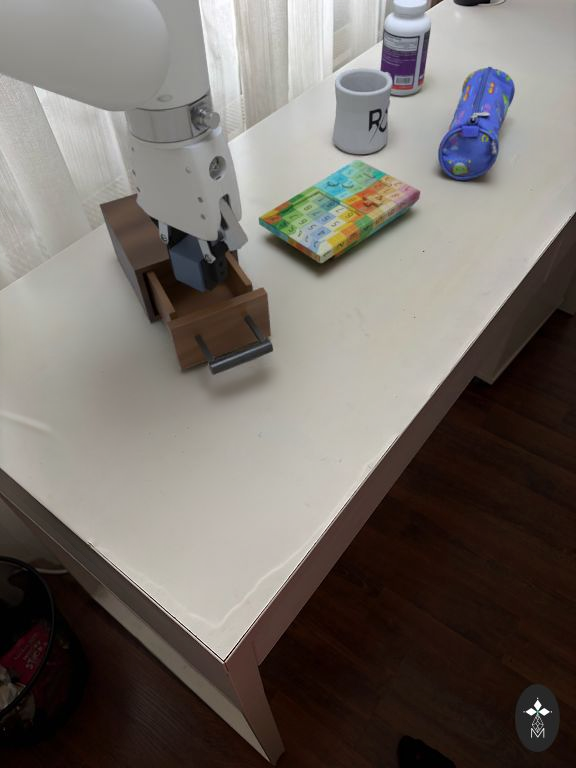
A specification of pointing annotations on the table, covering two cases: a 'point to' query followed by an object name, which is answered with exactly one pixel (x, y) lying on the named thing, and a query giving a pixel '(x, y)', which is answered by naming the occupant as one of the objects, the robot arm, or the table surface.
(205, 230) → the robot arm
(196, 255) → the block
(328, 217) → the puzzle game
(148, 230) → the cabinet
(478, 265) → the table surface
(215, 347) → the drawer
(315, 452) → the table surface
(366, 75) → the mug
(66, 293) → the table surface
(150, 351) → the table surface
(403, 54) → the pill bottle
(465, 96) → the pencil case
